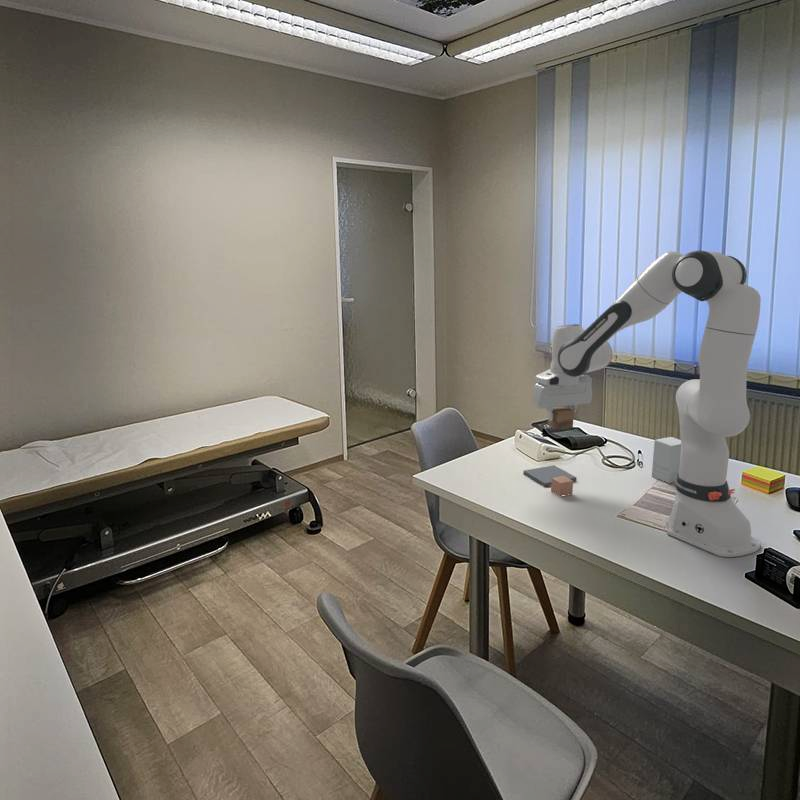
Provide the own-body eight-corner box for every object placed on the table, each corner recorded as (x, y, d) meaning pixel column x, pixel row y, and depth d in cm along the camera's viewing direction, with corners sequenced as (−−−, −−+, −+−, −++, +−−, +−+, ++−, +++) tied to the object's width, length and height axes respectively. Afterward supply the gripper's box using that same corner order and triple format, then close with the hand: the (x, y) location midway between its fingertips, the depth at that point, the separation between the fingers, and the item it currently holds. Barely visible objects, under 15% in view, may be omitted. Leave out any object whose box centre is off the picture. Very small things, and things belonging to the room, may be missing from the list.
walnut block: (572, 427, 191) (574, 410, 190) (557, 428, 190) (559, 411, 188) (562, 422, 196) (563, 406, 195) (547, 424, 194) (549, 407, 193)
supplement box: (686, 480, 194) (690, 442, 191) (667, 484, 191) (671, 445, 188) (668, 472, 201) (671, 436, 198) (650, 476, 198) (653, 439, 195)
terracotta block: (572, 494, 185) (573, 480, 184) (559, 497, 183) (560, 483, 182) (563, 489, 189) (563, 475, 188) (550, 491, 187) (551, 477, 186)
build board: (576, 480, 195) (576, 477, 195) (544, 486, 191) (544, 483, 191) (553, 468, 206) (554, 465, 206) (523, 473, 202) (523, 470, 201)
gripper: (585, 372, 195) (581, 413, 199) (530, 376, 188) (527, 419, 192) (598, 376, 190) (594, 418, 193) (542, 380, 182) (539, 425, 186)
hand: (560, 419), depth 192 cm, fingers closed on walnut block, 5 cm apart
